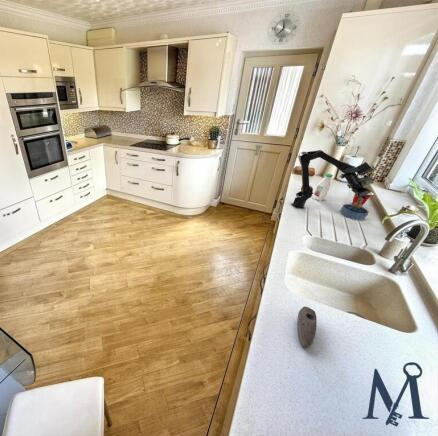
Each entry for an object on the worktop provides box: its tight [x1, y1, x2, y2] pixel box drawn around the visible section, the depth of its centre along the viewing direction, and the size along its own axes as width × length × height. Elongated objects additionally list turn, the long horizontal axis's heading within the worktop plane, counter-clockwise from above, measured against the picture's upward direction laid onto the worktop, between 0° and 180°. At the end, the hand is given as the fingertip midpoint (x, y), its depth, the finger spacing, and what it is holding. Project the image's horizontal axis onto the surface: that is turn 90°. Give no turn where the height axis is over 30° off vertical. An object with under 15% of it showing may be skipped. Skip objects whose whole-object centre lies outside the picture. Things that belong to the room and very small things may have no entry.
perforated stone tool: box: [296, 305, 318, 350], centre depth 79 cm, size 15×5×7 cm, turn 147°
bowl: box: [339, 203, 370, 221], centre depth 159 cm, size 14×14×5 cm
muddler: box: [353, 197, 363, 208], centre depth 154 cm, size 4×4×13 cm
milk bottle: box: [312, 173, 334, 202], centre depth 178 cm, size 8×8×20 cm
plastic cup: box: [351, 191, 375, 206], centre depth 172 cm, size 11×11×12 cm
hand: (364, 198), depth 153 cm, fingers closed on muddler, 2 cm apart
